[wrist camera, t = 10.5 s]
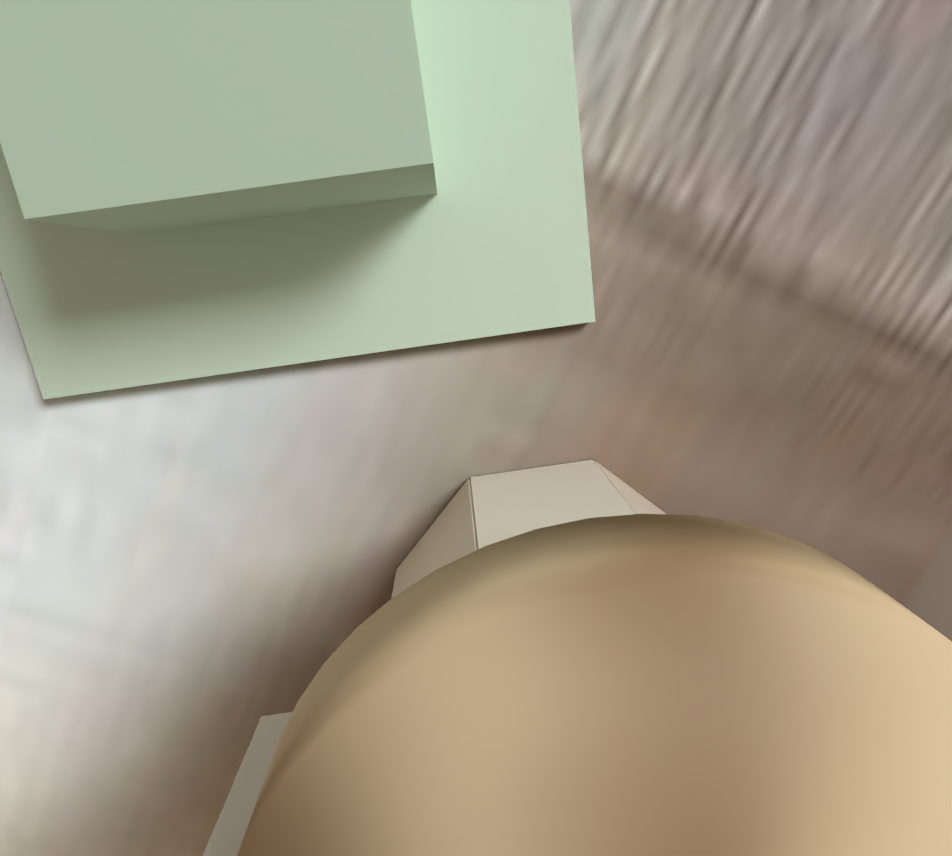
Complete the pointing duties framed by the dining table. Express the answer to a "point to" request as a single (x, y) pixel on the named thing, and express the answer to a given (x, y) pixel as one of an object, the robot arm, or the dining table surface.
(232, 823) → the robot arm
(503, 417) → the dining table surface
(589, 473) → the ramekin
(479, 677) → the lid
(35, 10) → the mat stand
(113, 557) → the dining table surface
